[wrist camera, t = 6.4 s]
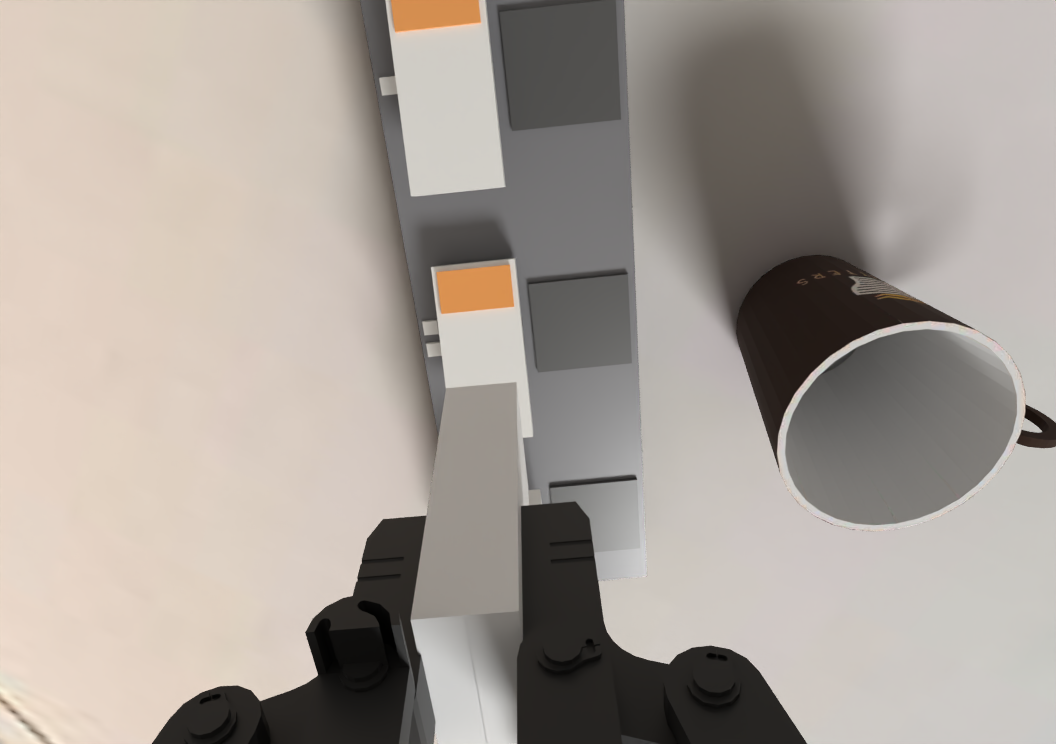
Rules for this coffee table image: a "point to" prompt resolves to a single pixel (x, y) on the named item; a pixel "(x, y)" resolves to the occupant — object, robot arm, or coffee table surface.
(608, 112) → the power strip
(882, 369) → the coffee mug
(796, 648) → the coffee table surface
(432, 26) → the block
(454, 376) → the rocker
